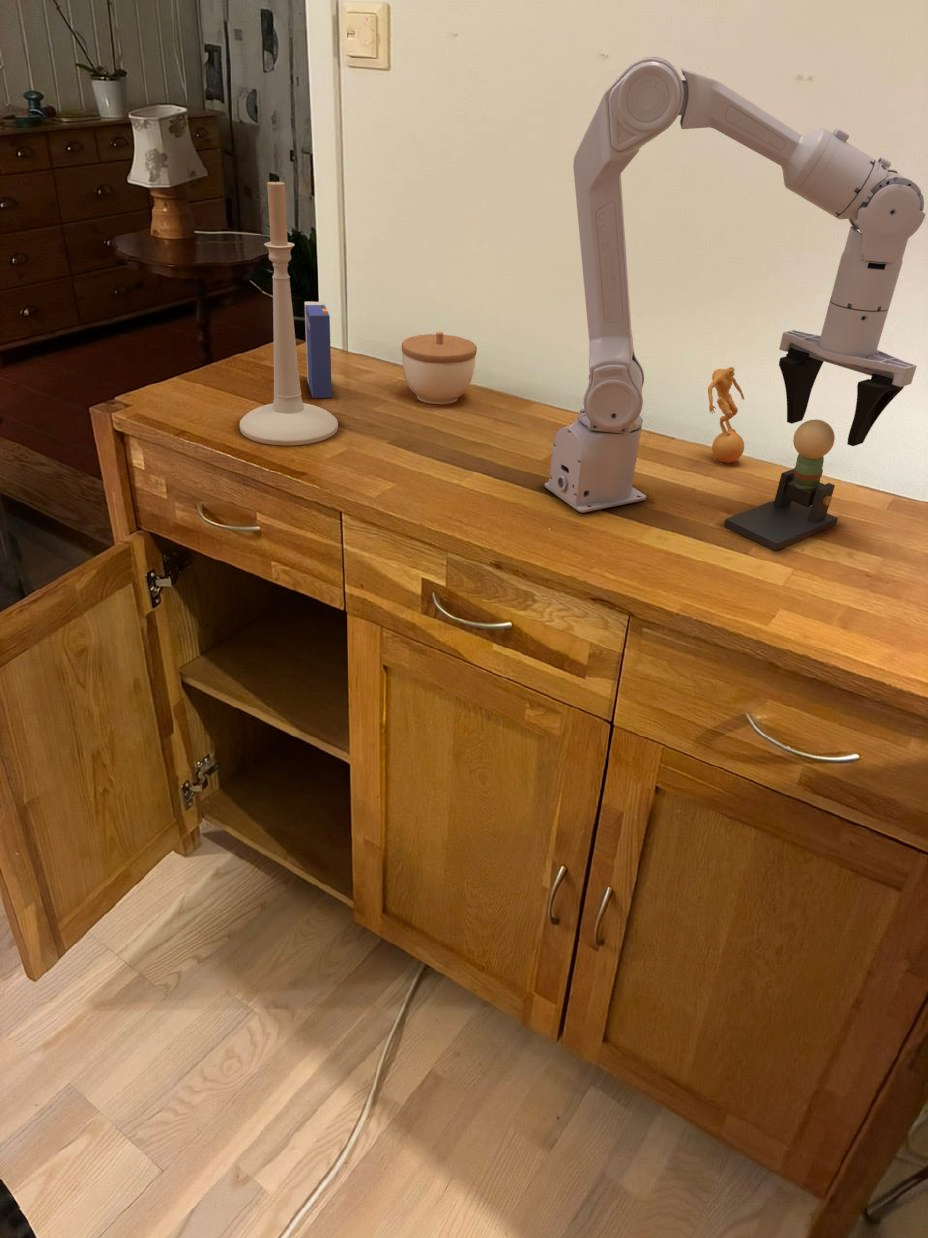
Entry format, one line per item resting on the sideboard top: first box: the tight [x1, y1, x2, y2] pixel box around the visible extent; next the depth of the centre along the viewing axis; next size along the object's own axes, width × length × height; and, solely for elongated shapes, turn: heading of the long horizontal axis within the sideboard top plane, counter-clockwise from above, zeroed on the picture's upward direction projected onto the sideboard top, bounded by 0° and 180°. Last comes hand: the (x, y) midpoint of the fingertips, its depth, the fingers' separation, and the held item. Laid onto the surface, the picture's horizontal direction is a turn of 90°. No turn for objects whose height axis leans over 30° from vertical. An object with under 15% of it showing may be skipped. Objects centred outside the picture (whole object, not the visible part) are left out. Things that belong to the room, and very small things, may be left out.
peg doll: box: [785, 419, 836, 508], centre depth 101 cm, size 4×4×10 cm
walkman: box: [304, 301, 333, 399], centre depth 132 cm, size 8×3×12 cm, turn 14°
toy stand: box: [723, 468, 839, 552], centre depth 102 cm, size 12×7×5 cm, turn 128°
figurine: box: [707, 366, 745, 464], centre depth 116 cm, size 8×6×12 cm
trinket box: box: [401, 331, 478, 405], centre depth 132 cm, size 11×11×9 cm
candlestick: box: [239, 178, 339, 446], centre depth 113 cm, size 13×13×30 cm
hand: (824, 432), depth 100 cm, fingers open, 7 cm apart
